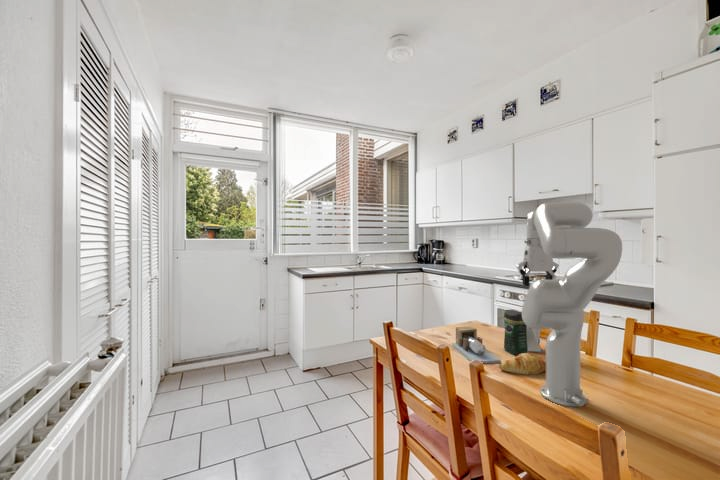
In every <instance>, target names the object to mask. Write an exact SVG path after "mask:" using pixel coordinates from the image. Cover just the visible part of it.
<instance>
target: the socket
mask: <svg viewBox="0 0 720 480" xmlns="http://www.w3.org/2000/svg"><path fill="white" fill-rule="evenodd" d="M477 333H478V329H477V328H476V327H474V326H459V327H458V326H457V327H455V343H456V344H457V345H458V346H462V344H463V342H462V336H463V335H464V334H469V335H470V336H472V337H473V338H475V339H476V340H477V337H478V334H477Z"/></svg>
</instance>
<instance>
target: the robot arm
mask: <svg viewBox="0 0 720 480" xmlns="http://www.w3.org/2000/svg"><path fill="white" fill-rule="evenodd" d="M593 214H594V213H593V211H592V208H590V207H589V206H588V205H587V204H585V203H582V202H577V201H569V202H565V201H562V202H545V203H542V204H540V205H539V206H537V208H536V210H532V211H530V212H529V213H527V215H526V240H525V239H524V242H523V243H524V244H526V246H525V248H524V252H523V253H524V254H523V260H522V261H521V262H519V263H518V264H516V266H515V267H516V268H517V270H518V273H519V274H520V276H522V285H523V286H524V287H529V288H528V289H527V291H528V292H527V296H526V298H525V299H524V301H523V304H522V308H521V312H522V319H523V321H524V323H525V324H526V325H527V326H528V327H530V328H537V329H540V330H541V329H542V330H551V331H550V333H549V334H548V335H547V337H546V339H545V360H546V371H545V384H544V385H542V386H541V387H540V388H539V389H540V391H539V392H540V394H541V396H542V395H543V396H542V397H543V398H545V399H546V398H547V399H546V400H548V399H549V400H548V401H550V400H552V401H553V402H552V401H551V402H552V403H555V404H557V405H561V404H562V405H561V406H566V407H573V408H574V407H576V408H577V407H583V406H584V405H586V403H588V401H589V400H588V398H587V396H586V395H585V394H583V389H582V388H581V344H582V343H581V341H582V332H583V327H584V324H585V323H584V322H585V311H584V310H585V309H586V308H587V307H588V305H589V304H590V303H591V301H592V300H593V298H594V297H595V295H596V294H597V292H598V291H599V288H600V286H601V285H603V283H605V281H606V280H607V279H608V278H610V277H611V275H612V274H613V273H614V272H615V270H616V269H617V267H618V266H619V264H620V262H621V258H622V253H623V242H622V241H623V240H622V238H621V237H620V235H619V234H618V233H616V232H614V231H613V230H611V229H607V228H601V227H587V226H589V224H591V222H592V220H593ZM554 259H556V260H557V259H559V260H560V259H561V260H562V259H563V260H569V259H570V260H580V261H578V262H576V263H574V264H573V265H572V266H570V267H569V268H568V269H567V270H566V271H565V274H564V275H563V277H562V278H561V279H553V276H554V275H555V273H556V272H557V270H558V268H559V264H558V263H557V262H555V261H554ZM532 272H533V273H534V272H535V273H536V272H537V273H538V272H539V273H540V272H543V273H546V274H545V279H538V280H537V279H536V280H535V281H533V282H532V283H531V284H530V276H529V275H530V274H531V273H532Z"/></svg>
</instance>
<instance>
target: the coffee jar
mask: <svg viewBox="0 0 720 480" xmlns="http://www.w3.org/2000/svg"><path fill="white" fill-rule="evenodd" d="M503 313H504V314H503V320H504V341H503V349H504V351H506V352H508V353H510V354H513V355H517V356H518V355H519V354H521V353H529V352H528V347H527V332H526V327H527V325H526V324H525V323H524V321H523V319H522V311H519V310H515V309H505V311H504V312H503Z"/></svg>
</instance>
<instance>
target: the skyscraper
mask: <svg viewBox="0 0 720 480" xmlns="http://www.w3.org/2000/svg"><path fill="white" fill-rule="evenodd" d="M527 293H528V290H527V291H524V292H523V294H522V295H523V298H524V300H525V298H526V296H527ZM526 332H527V347H528V353H543V354H546V350H544V349H543V348H542V347H541V346H540V343H541V339H540V334H541V329H537V328H530V327H528V326H527V327H526Z"/></svg>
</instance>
